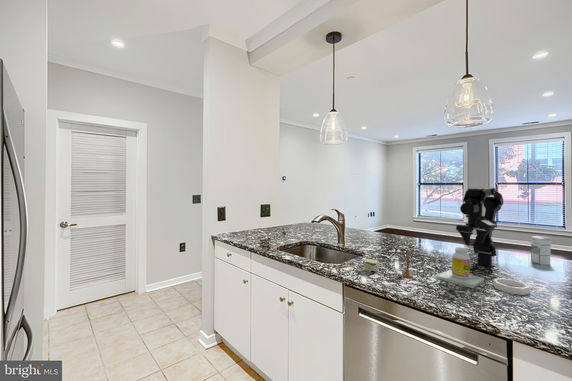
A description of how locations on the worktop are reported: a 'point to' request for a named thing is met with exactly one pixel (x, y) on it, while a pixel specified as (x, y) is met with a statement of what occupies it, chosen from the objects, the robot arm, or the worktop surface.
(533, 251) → the syrup box
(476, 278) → the sage board
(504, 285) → the white flat octagonal ring
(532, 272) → the worktop surface
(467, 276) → the supplement bottle
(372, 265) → the stacked layers on plate
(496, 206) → the robot arm
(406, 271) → the gingerbread man figurine
